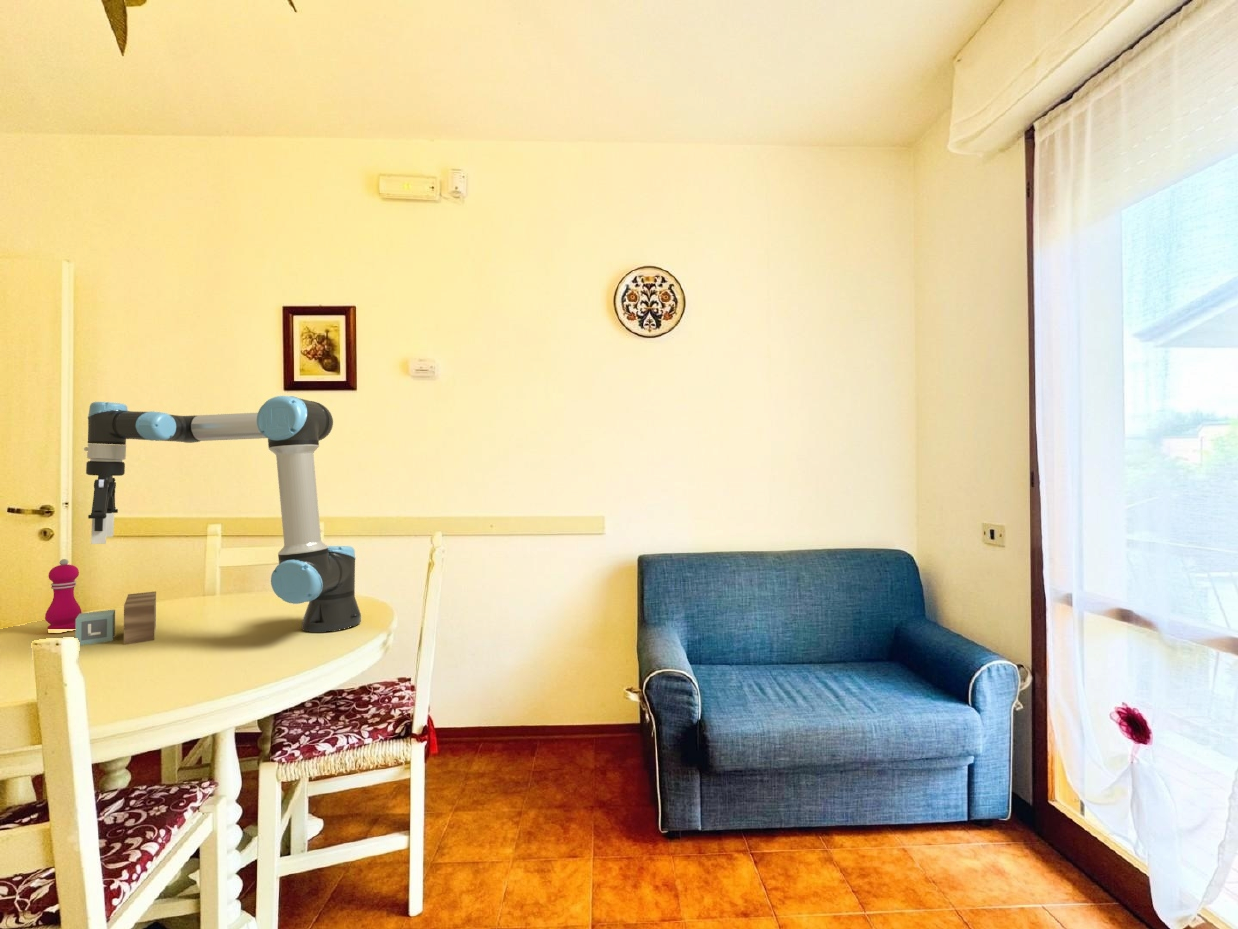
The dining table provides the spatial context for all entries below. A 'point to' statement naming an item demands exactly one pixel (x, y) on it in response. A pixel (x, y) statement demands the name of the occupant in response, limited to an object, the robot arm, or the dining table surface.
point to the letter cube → (95, 627)
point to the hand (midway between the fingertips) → (102, 540)
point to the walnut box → (139, 617)
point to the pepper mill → (63, 597)
